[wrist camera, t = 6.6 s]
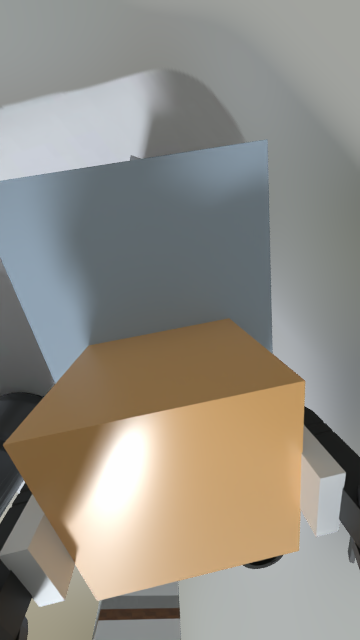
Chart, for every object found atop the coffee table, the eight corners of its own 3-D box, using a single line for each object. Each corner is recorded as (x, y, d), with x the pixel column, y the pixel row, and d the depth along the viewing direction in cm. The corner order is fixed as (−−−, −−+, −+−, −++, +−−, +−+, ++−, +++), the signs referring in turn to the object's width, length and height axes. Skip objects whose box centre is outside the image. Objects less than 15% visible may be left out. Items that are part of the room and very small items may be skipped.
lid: (124, 501, 17) (95, 692, 10) (5, 200, 10) (-510, -4, 2) (263, 469, 18) (340, 626, 10) (248, 161, 10) (483, -108, 3)
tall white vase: (119, 493, 49) (25, 995, 15) (126, 462, 46) (30, 997, 13) (163, 496, 50) (163, 954, 17) (172, 467, 48) (195, 947, 14)
